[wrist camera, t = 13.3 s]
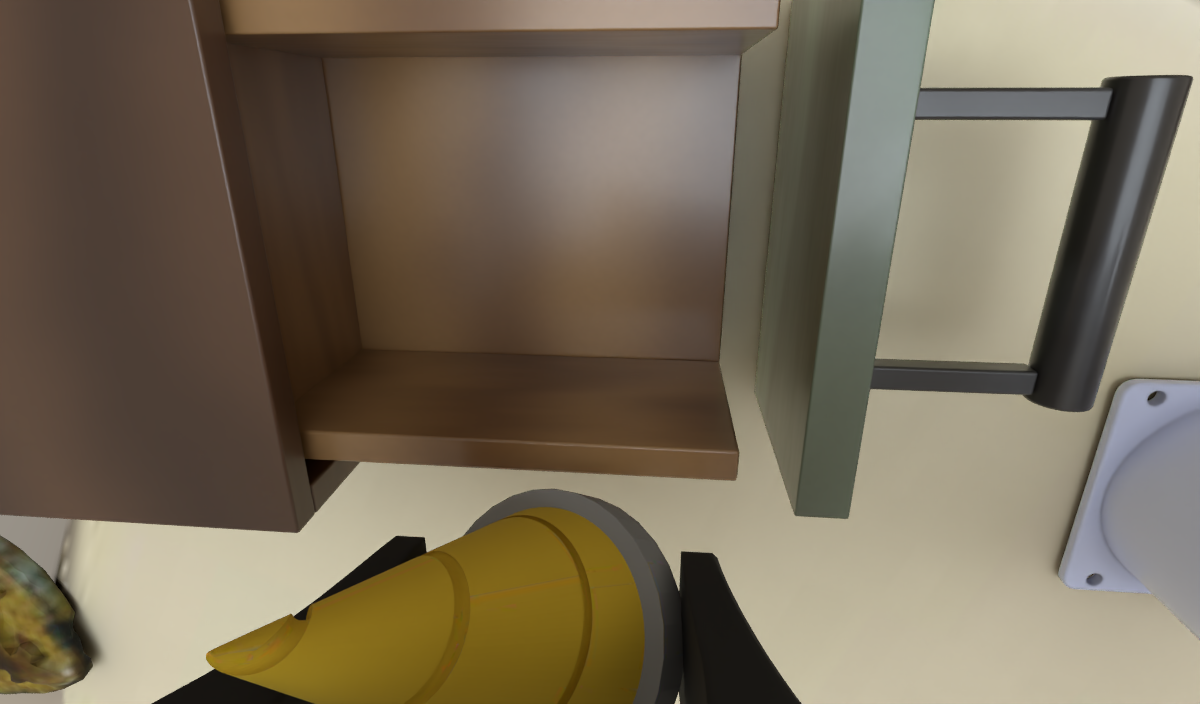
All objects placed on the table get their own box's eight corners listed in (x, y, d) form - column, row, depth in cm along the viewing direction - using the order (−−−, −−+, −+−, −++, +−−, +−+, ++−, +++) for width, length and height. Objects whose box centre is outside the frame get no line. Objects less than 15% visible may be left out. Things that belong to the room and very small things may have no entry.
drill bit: (501, 661, 16) (29, 727, 8) (592, 473, 17) (225, 361, 9) (670, 814, 13) (177, 1158, 5) (776, 579, 14) (472, 557, 6)
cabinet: (385, -18, 18) (168, -119, 10) (427, 384, 23) (298, 534, 15) (-104, -10, 20) (-636, -93, 12) (27, 369, 24) (-291, 498, 16)
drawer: (1071, -9, 16) (1339, -89, 10) (975, 401, 20) (1120, 535, 14) (306, 2, 18) (108, -59, 11) (360, 377, 22) (236, 486, 15)
